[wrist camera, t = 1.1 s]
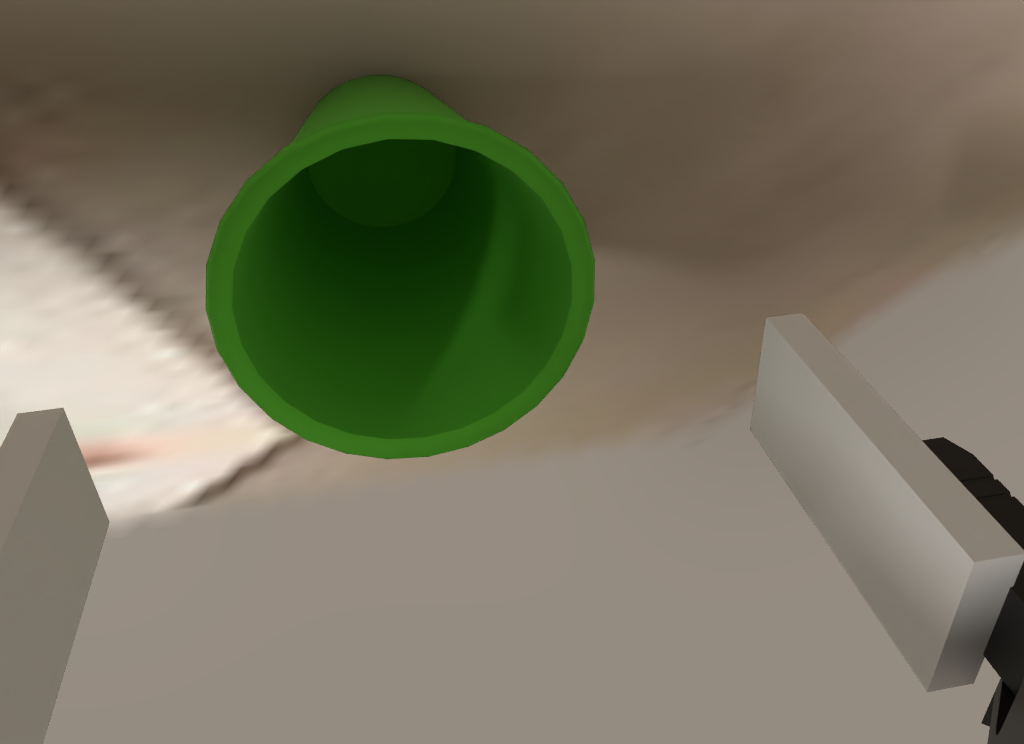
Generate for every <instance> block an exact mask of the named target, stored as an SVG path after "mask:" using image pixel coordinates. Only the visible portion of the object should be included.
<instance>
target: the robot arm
mask: <svg viewBox="0 0 1024 744" xmlns="http://www.w3.org/2000/svg"><path fill="white" fill-rule="evenodd" d="M750 430H751V431H752V433H753V434H754V436H755V437H756V439H757V440H758V442H759V443H760V445H761V446H762V448H763V449H764V451H765V452H766V454H767V455H768V457H769V458H770V460H771V461H772V463H773V464H774V465H775V467H776V468H777V470H778V471H779V473H780V474H781V476H782V477H783V479H784V480H785V482H786V483H787V485H788V486H789V488H790V489H791V491H792V492H793V494H794V495H795V497H796V498H797V500H798V501H799V503H800V504H801V506H802V507H803V509H804V510H805V512H806V513H807V514H808V516H809V517H810V519H811V520H812V522H813V523H814V525H815V526H816V528H817V529H818V531H819V532H820V534H821V535H822V537H823V538H824V540H825V541H826V543H827V544H828V546H829V547H830V549H831V550H832V552H833V553H834V555H835V556H836V558H837V559H838V561H839V562H840V564H841V565H842V566H843V568H844V569H845V571H846V572H847V574H848V575H849V577H850V578H851V580H852V581H853V583H854V584H855V586H856V587H857V589H858V590H859V592H860V593H861V595H862V596H863V598H864V599H865V600H866V602H867V604H868V605H869V607H870V608H871V610H872V611H873V613H874V614H875V615H876V617H877V618H878V620H879V621H880V623H881V624H882V626H883V627H884V629H885V630H886V632H887V633H888V635H889V636H890V638H891V639H892V641H893V642H894V644H895V645H896V647H897V648H898V650H899V651H900V653H901V654H902V656H903V657H904V658H905V660H906V661H907V663H908V664H909V666H910V667H911V669H912V670H913V672H914V673H915V675H916V676H917V678H918V679H919V681H920V682H921V684H922V685H923V687H924V688H925V690H926V691H927V692H930V691H936V690H941V689H946V688H951V687H957V686H962V685H967V684H973V683H974V681H975V679H976V676H977V674H978V672H979V669H980V667H981V664H982V662H983V659H984V657H985V658H986V659H987V660H988V661H989V663H990V664H991V665H992V667H993V668H994V669H995V670H996V672H997V673H998V675H999V676H1000V677H1001V679H1000V681H999V684H998V686H997V688H996V691H995V693H994V695H993V698H992V700H991V702H990V704H989V707H988V709H987V712H986V714H985V716H984V718H983V721H982V724H985V725H987V726H990V730H989V737H988V744H1024V506H1023V505H1022V504H1021V503H1020V502H1019V501H1018V500H1017V499H1016V498H1015V497H1011V495H1010V492H1009V490H1007V488H1006V487H1004V486H1003V484H1002V483H1001V482H999V480H994V477H993V474H992V473H991V472H990V471H989V470H988V469H987V468H986V467H985V466H984V465H983V464H982V463H981V462H980V461H979V460H978V459H977V458H976V457H975V456H974V455H973V454H971V453H970V452H968V451H966V450H964V449H963V448H961V447H959V446H957V445H956V444H954V443H952V442H950V441H949V440H947V439H945V438H944V437H942V438H936V439H929V440H921V439H920V438H919V437H918V436H917V435H916V434H915V433H914V432H913V431H912V430H911V428H910V427H909V426H908V425H907V424H906V423H905V422H904V421H903V420H902V419H901V418H900V417H899V416H898V414H897V413H896V412H894V410H893V409H892V408H891V407H890V406H889V405H888V404H887V403H886V402H885V400H884V399H883V398H882V397H881V396H880V395H879V394H878V393H877V392H876V391H875V390H874V389H873V388H872V386H871V385H870V384H869V383H868V382H867V381H866V380H865V379H864V378H863V377H862V376H861V375H860V374H859V372H858V371H856V369H855V368H854V367H853V366H852V365H851V364H850V363H849V362H848V361H847V360H846V359H845V357H844V356H843V355H842V354H841V353H840V352H839V351H838V350H837V349H836V348H835V347H834V346H833V345H832V343H831V342H830V341H829V340H828V339H827V338H826V337H825V336H824V335H823V334H822V333H821V332H820V331H819V329H818V328H817V327H816V326H815V325H814V324H813V323H812V322H811V321H810V320H809V319H808V318H807V317H806V315H805V314H804V313H797V314H790V315H782V316H774V317H766V322H765V329H764V336H763V343H762V350H761V357H760V364H759V371H758V378H757V385H756V392H755V399H754V406H753V413H752V420H751V427H750ZM108 526H109V520H108V517H107V515H106V512H105V510H104V507H103V505H102V502H101V500H100V498H99V495H98V493H97V490H96V488H95V485H94V483H93V480H92V478H91V475H90V473H89V470H88V468H87V465H86V463H85V460H84V458H83V455H82V453H81V451H80V448H79V446H78V443H77V441H76V438H75V436H74V433H73V431H72V428H71V426H70V423H69V421H68V418H67V416H66V413H65V411H64V408H58V409H50V410H42V411H35V412H27V413H19V414H17V416H16V418H15V420H14V422H13V424H12V426H11V428H10V430H9V432H8V434H7V436H6V438H5V440H4V442H3V444H2V446H1V448H0V744H43V742H44V739H45V735H46V732H47V728H48V725H49V722H50V718H51V715H52V712H53V708H54V705H55V702H56V699H57V695H58V692H59V689H60V685H61V682H62V679H63V675H64V672H65V669H66V665H67V662H68V659H69V655H70V652H71V648H72V645H73V642H74V639H75V635H76V632H77V629H78V625H79V622H80V619H81V615H82V612H83V609H84V605H85V602H86V599H87V595H88V592H89V589H90V585H91V582H92V579H93V576H94V572H95V569H96V566H97V562H98V559H99V555H100V552H101V549H102V546H103V542H104V539H105V536H106V532H107V529H108Z"/></svg>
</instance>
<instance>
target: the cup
mask: <svg viewBox="0 0 1024 744" xmlns="http://www.w3.org/2000/svg"><path fill="white" fill-rule="evenodd" d="M594 273H595V259H594V256H593V252H592V248H591V244H590V240H589V237H588V233H587V229H586V225H585V222H584V219H583V217H582V215H581V214H580V212H579V210H578V209H577V207H576V205H575V204H574V202H573V200H572V198H571V197H570V195H569V193H568V192H567V190H566V188H565V186H564V185H563V183H562V182H561V181H560V180H559V179H558V178H557V177H556V176H555V175H554V174H553V173H552V172H551V171H550V170H549V169H548V168H547V167H546V166H545V165H544V164H543V163H542V162H541V161H540V160H539V159H538V158H537V157H536V156H535V155H533V154H532V153H531V152H530V151H529V150H528V149H526V148H524V147H522V146H521V145H519V144H517V143H515V142H514V141H512V140H510V139H508V138H507V137H505V136H503V135H501V134H499V133H498V132H496V131H494V130H492V129H491V128H489V127H487V126H484V125H480V124H476V123H473V122H469V121H466V120H465V119H464V118H462V117H461V116H460V115H459V114H457V113H456V112H455V111H453V110H452V109H451V108H450V107H448V106H447V105H446V104H444V103H443V102H442V101H441V100H439V99H438V98H437V97H435V96H434V95H433V94H432V93H430V92H429V91H427V90H426V89H424V88H422V87H420V86H418V85H417V84H415V83H413V82H411V81H408V80H405V79H401V78H397V77H394V76H380V75H370V76H365V77H361V78H356V79H352V80H350V81H348V82H346V83H344V84H342V85H340V86H338V87H336V88H334V89H333V90H331V91H330V92H329V93H328V94H327V95H326V96H325V97H323V98H322V99H321V100H320V101H319V102H318V103H317V105H316V106H315V108H314V109H313V111H312V112H311V114H310V115H309V117H308V118H307V120H306V121H305V123H304V124H303V126H302V127H301V129H300V130H299V132H298V133H297V135H296V136H295V138H294V139H293V141H292V142H291V144H290V145H288V146H286V147H284V148H283V149H282V150H281V151H280V152H279V153H277V154H276V155H275V156H274V157H273V158H272V159H271V160H269V161H268V162H267V163H266V164H265V165H264V166H263V167H261V168H260V169H259V170H258V171H257V172H256V173H255V174H254V175H252V176H251V177H250V178H249V179H248V180H247V181H246V182H245V184H244V185H243V187H242V188H241V190H240V191H239V193H238V194H237V196H236V197H235V199H234V200H233V202H232V203H231V205H230V206H229V208H228V209H227V211H226V213H225V214H224V216H223V217H222V219H221V220H220V222H219V225H218V229H217V232H216V235H215V238H214V242H213V245H212V248H211V251H210V254H209V258H208V261H207V264H206V312H207V316H208V319H209V323H210V326H211V330H212V334H213V337H214V341H215V344H216V348H217V351H218V352H219V354H220V356H221V357H222V359H223V361H224V362H225V364H226V366H227V367H228V369H229V371H230V372H231V374H232V376H233V377H234V379H235V381H236V382H237V384H238V386H239V387H240V388H241V389H242V390H243V391H244V392H245V393H246V394H247V395H248V396H249V397H250V398H251V399H252V400H253V401H254V402H255V403H256V404H257V405H258V406H259V407H260V408H261V409H262V410H263V411H264V412H265V413H266V414H267V415H269V416H270V417H271V418H272V419H273V420H275V421H276V422H278V423H280V424H281V425H283V426H285V427H286V428H288V429H290V430H291V431H293V432H295V433H296V434H298V435H299V436H301V437H303V438H304V439H306V440H308V441H311V442H314V443H317V444H320V445H323V446H326V447H329V448H331V449H334V450H337V451H340V452H343V453H346V454H353V455H361V456H368V457H376V458H383V459H396V458H413V457H429V456H433V455H437V454H441V453H445V452H449V451H453V450H457V449H461V448H465V447H468V446H470V445H473V444H475V443H477V442H479V441H481V440H483V439H485V438H488V437H490V436H492V435H494V434H496V433H498V432H501V431H503V430H505V429H506V428H507V427H509V426H510V425H512V424H513V423H514V422H516V421H517V420H518V419H520V418H521V417H522V416H524V415H525V414H527V413H528V412H529V411H531V410H532V409H533V408H535V407H536V406H537V405H538V404H539V403H540V402H541V401H542V400H543V399H544V397H545V396H546V395H547V394H548V393H549V392H550V391H551V390H552V388H553V387H554V386H555V385H556V384H557V383H558V382H559V381H560V380H561V378H562V377H563V376H564V374H565V372H566V370H567V369H568V367H569V365H570V363H571V361H572V360H573V358H574V356H575V354H576V352H577V351H578V349H579V347H580V345H581V344H582V341H583V339H584V336H585V332H586V328H587V325H588V321H589V317H590V314H591V310H592V306H593V303H594Z"/></svg>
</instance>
